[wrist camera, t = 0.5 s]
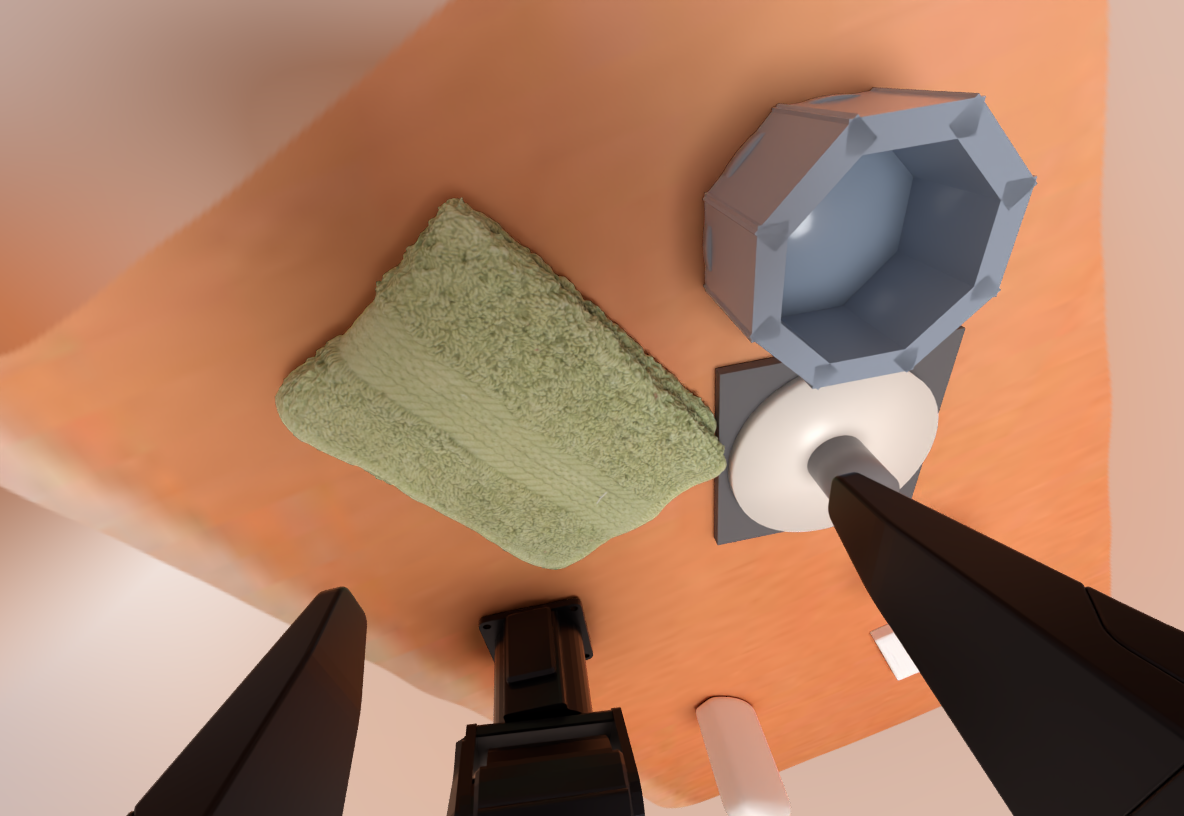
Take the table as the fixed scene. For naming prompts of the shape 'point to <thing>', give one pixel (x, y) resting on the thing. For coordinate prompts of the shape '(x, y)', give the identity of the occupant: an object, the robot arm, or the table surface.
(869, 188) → the bowl
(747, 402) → the mat
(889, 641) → the external hard drive
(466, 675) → the table surface
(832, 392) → the lid
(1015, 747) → the robot arm
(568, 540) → the washcloth
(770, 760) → the eye dropper bottle
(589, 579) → the table surface
